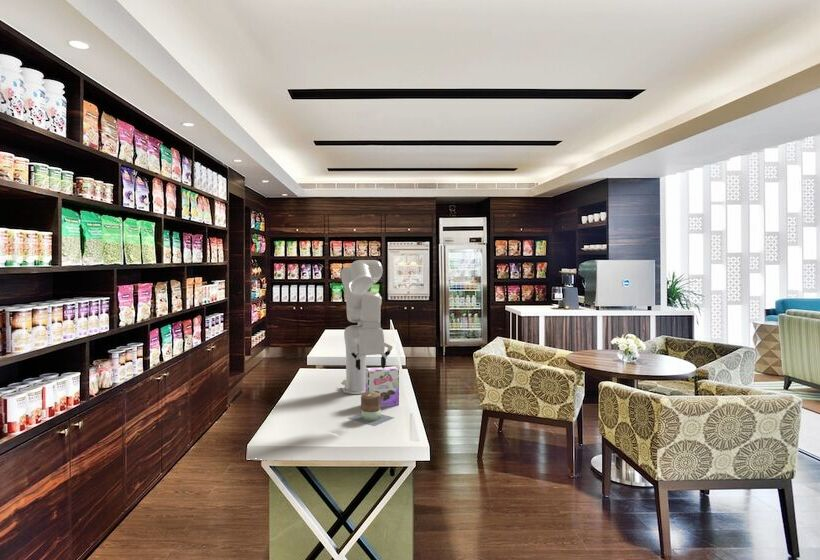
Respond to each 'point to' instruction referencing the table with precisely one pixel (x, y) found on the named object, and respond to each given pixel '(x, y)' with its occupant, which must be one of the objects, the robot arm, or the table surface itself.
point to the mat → (373, 423)
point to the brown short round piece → (370, 402)
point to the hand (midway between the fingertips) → (370, 368)
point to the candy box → (384, 384)
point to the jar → (371, 415)
